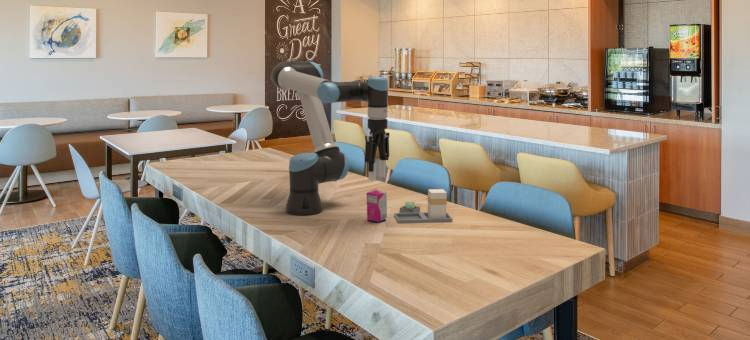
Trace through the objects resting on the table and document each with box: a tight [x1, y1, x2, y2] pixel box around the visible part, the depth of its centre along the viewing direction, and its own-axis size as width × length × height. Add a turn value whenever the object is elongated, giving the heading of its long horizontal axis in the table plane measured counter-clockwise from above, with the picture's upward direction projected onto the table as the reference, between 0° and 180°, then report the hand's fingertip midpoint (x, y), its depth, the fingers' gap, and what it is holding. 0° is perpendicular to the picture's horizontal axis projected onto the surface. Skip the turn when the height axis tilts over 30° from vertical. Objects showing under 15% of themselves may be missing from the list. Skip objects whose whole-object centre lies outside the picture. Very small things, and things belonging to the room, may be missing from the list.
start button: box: [404, 201, 416, 209], centre depth 234 cm, size 4×4×4 cm
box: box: [427, 188, 448, 219], centre depth 224 cm, size 6×6×11 cm
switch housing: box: [399, 205, 421, 213], centre depth 234 cm, size 6×6×3 cm
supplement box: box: [366, 189, 388, 224], centre depth 225 cm, size 6×6×12 cm
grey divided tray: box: [393, 211, 453, 224], centre depth 225 cm, size 21×10×2 cm, turn 97°
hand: (377, 178), depth 223 cm, fingers open, 6 cm apart
